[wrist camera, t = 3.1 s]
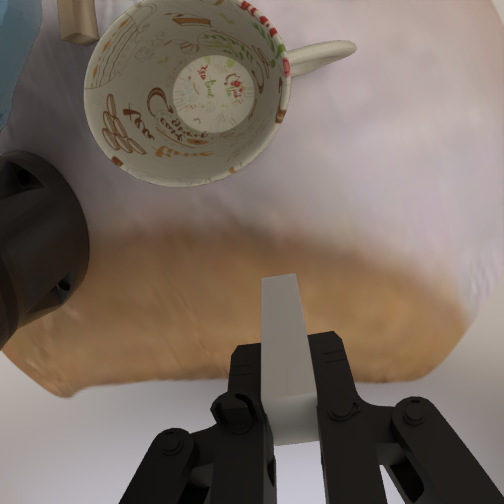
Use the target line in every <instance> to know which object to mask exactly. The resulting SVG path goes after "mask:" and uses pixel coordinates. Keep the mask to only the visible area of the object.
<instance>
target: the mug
mask: <svg viewBox="0 0 504 504" xmlns="http://www.w3.org/2000/svg"><path fill="white" fill-rule="evenodd" d="M356 49H357V48H356V45H355V43H353V42H351V41H341V40H338V41H328V42H322V43H318V44H314V45H310V46H306V47H302V48H298V49H295V50H291V51H288V52H286V49H285V46H284V44H283V42H282V40H281V38H280V36H279V34H278V33H277V31H276V29H275V28H274V27H273V25H272V24H271V23H270V22H269V20H268V19H267V18H266V17H265V16H264V15H263V14H262V13H261V12H259V11H258V10H257V9H256V8H255V7H253V6H252V5H250V4H249V3H247V2H246V1H244V0H143V1H141V2H139V3H137V4H136V5H134V6H133V7H131V8H130V9H128V10H127V11H126V12H124V13H123V14H122V15H121V16H119V17H118V18H117V19H116V20H115V21H114V22H113V23H112V24H111V25H110V27H109V28H108V29H107V30H106V31H105V33H104V34H103V36H102V37H101V38H100V40H99V42H98V43H97V45H96V47H95V49H94V51H93V53H92V55H91V58H90V60H89V63H88V66H87V70H86V74H85V80H84V90H83V98H84V109H85V114H86V119H87V122H88V125H89V128H90V130H91V133H92V135H93V137H94V139H95V140H96V142H97V144H98V145H99V147H100V148H101V150H102V151H103V152H104V153H105V155H106V156H107V157H108V158H109V159H110V160H111V161H112V162H113V163H114V164H115V165H117V166H118V167H119V168H120V169H122V170H123V171H125V172H126V173H128V174H130V175H131V176H133V177H135V178H137V179H140V180H142V181H145V182H148V183H151V184H155V185H159V186H165V187H194V186H200V185H205V184H209V183H212V182H215V181H218V180H221V179H223V178H225V177H227V176H230V175H232V174H233V173H235V172H237V171H239V170H240V169H242V168H243V167H245V166H246V165H247V164H249V163H250V162H251V161H252V160H254V159H255V158H256V157H257V156H258V155H259V154H260V153H261V152H262V151H263V150H264V149H265V148H266V146H267V145H268V144H269V143H270V141H271V140H272V138H273V137H274V135H275V134H276V132H277V131H278V129H279V127H280V125H281V123H282V121H283V118H284V116H285V113H286V110H287V106H288V103H289V97H290V91H291V77H294V76H298V75H303V74H306V73H308V72H311V71H313V70H316V69H318V68H320V67H322V66H325V65H327V64H330V63H332V62H335V61H337V60H340V59H343V58H345V57H348V56H350V55H351V54H353V53H354V52H355V51H356Z"/></svg>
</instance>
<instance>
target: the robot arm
mask: <svg viewBox="0 0 504 504" xmlns="http://www.w3.org/2000/svg"><path fill="white" fill-rule="evenodd" d="M41 21H42V4H41V0H0V132H1V129H3V128H4V127H5V126H6V124H7V121H8V118H9V116H10V114H11V113H10V111H11V108H12V106H13V92H14V89H15V87H16V84H17V81H18V79H19V76H20V73H21V71H22V68H23V66H24V64H25V61H26V59H27V57H28V54H29V52H30V50H31V48H32V45H33V43H34V41H35V39H36V37H37V34H38V32H39V29H40V25H41ZM88 260H89V239H88V232H87V227H86V223H85V219H84V216H83V213H82V210H81V208H80V205H79V203H78V201H77V199H76V197H75V195H74V193H73V191H72V189H71V188H70V186H69V185H68V183H67V182H66V181H65V179H64V178H63V177H62V175H61V174H60V173H59V172H58V171H57V170H56V169H55V168H54V167H53V166H52V165H51V164H49V163H48V162H47V161H45V160H44V159H42V158H40V157H39V156H36V155H34V154H31V153H28V152H22V151H14V152H9V153H6V154H3V155H0V351H1V349H2V348H3V347H4V345H5V344H6V342H7V341H8V340H9V339H10V337H11V336H12V335H13V334H14V333H15V331H16V330H17V329H19V328H20V327H22V326H24V325H26V324H28V323H30V322H32V321H34V320H36V319H38V318H40V317H42V316H44V315H46V314H48V313H50V312H52V311H54V310H56V309H58V308H59V307H61V306H62V305H63V304H64V303H65V302H66V301H67V300H68V299H69V298H70V297H71V295H72V294H73V293H74V292H75V291H76V289H77V288H78V287H79V286H80V284H81V282H82V281H83V278H84V276H85V273H86V270H87V266H88ZM210 410H211V412H212V414H213V417H214V419H215V421H216V422H217V423H216V424H215V425H214V426H212V427H209V428H207V429H204V430H201V431H198V432H194V433H191V434H189V432H188V431H186V430H184V429H181V428H170V429H167V430H164V431H162V432H161V433H159V434H158V435H157V436H156V437H155V439H154V440H153V442H152V443H151V446H150V447H149V449H148V451H147V453H146V454H145V456H144V458H143V460H142V462H141V464H140V465H139V467H138V469H137V471H136V473H135V475H134V477H133V478H132V480H131V482H130V484H129V486H128V487H127V489H126V491H125V493H124V495H123V497H122V498H121V500H120V502H119V504H277V488H276V459H275V456H274V445H275V446H280V445H289V444H297V443H304V442H312V441H320V449H321V464H322V470H323V479H324V487H325V497H326V504H388V503H387V499H386V494H385V489H384V485H383V480H382V475H381V471H380V467H379V465H383V466H384V467H385V469H386V471H387V472H388V474H389V476H390V478H391V480H392V481H393V483H394V485H395V487H396V488H397V490H398V492H399V493H400V495H401V497H402V499H403V500H404V502H405V504H504V497H503V495H502V494H501V493H500V491H499V490H498V488H497V487H496V486H495V484H494V483H493V482H492V480H491V479H490V477H489V476H488V475H487V473H486V472H485V471H484V469H483V468H482V467H481V465H480V464H479V463H478V461H477V460H476V459H475V457H474V456H473V455H472V453H471V452H470V451H469V449H468V448H467V447H466V445H465V444H464V443H463V441H462V440H461V439H460V438H459V437H458V435H457V434H456V432H455V431H454V430H453V429H452V427H451V426H450V425H449V423H448V422H447V421H446V420H445V418H444V417H443V416H442V415H441V414H440V412H439V411H438V409H437V408H436V407H435V406H434V404H432V403H431V402H430V401H429V400H428V399H425V398H422V397H412V396H411V397H408V398H405V399H403V400H401V401H400V402H399V403H397V404H396V406H395V407H391V406H376V405H372V404H369V403H367V402H365V401H364V400H362V399H361V398H360V396H359V395H358V393H357V391H356V388H355V384H354V380H353V377H352V373H351V370H350V366H349V363H348V360H347V356H346V352H345V349H344V345H343V342H342V339H341V338H340V337H339V336H338V335H337V334H336V333H335V332H334V331H329V332H324V333H318V334H311V335H307V331H306V326H305V320H304V315H303V309H302V304H301V298H300V293H299V288H298V283H297V277H296V273H291V274H285V275H279V276H272V277H266V278H261V343H255V344H246V345H238V346H237V348H236V349H235V351H234V352H233V354H232V355H231V363H230V373H229V382H228V391H227V392H226V393H224V394H222V395H220V396H218V398H217V399H216V400H215V401H214V402H213V403H212V406H211V408H210Z"/></svg>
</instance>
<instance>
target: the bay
mask: <svg viewBox="0 0 504 504" xmlns="http://www.w3.org/2000/svg"><path fill="white" fill-rule="evenodd" d="M57 4H58V16H59V26H60V35H61V40H64V41H68V42H73V43H77V44H81V45H85V46H86V45H88V44H90V43H92V42H95V41H97V40H99V36H98V30H97V23H96V15H95V7H94V0H57Z"/></svg>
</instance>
